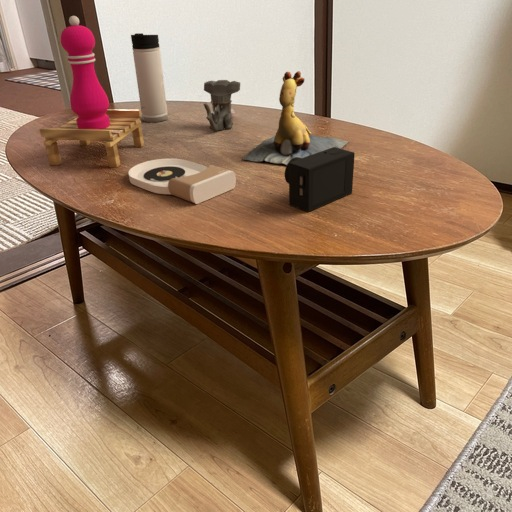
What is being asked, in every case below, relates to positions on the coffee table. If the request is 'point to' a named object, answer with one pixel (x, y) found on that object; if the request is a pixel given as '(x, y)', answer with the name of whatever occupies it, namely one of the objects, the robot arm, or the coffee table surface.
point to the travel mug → (149, 77)
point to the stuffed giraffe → (291, 132)
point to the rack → (96, 135)
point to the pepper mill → (84, 78)
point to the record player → (182, 179)
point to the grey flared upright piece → (220, 103)
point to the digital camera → (320, 178)
